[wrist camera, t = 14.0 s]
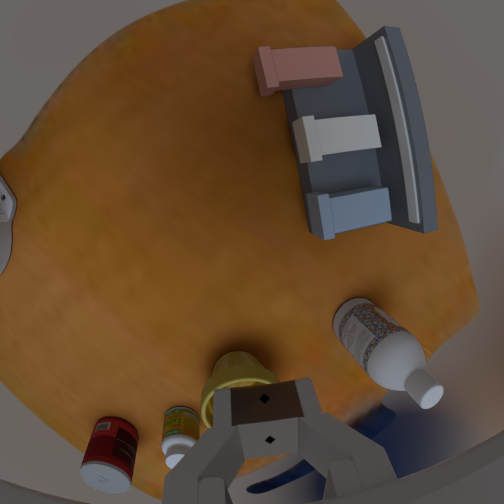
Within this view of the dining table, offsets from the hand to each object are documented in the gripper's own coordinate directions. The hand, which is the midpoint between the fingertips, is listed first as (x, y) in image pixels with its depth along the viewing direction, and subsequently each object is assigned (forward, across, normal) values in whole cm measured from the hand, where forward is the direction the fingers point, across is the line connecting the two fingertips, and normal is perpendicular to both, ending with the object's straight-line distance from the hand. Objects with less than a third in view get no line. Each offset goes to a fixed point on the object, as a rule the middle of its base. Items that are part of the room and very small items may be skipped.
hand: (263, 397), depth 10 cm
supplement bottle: (+27, +12, +31) cm, 42 cm away
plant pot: (+28, +2, +23) cm, 36 cm away
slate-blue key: (+27, -12, +1) cm, 30 cm away
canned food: (+25, +24, +33) cm, 48 cm away
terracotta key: (+29, -8, -15) cm, 33 cm away
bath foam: (+30, -15, +18) cm, 38 cm away
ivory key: (+28, -11, -7) cm, 31 cm away
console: (+33, -14, -7) cm, 36 cm away
